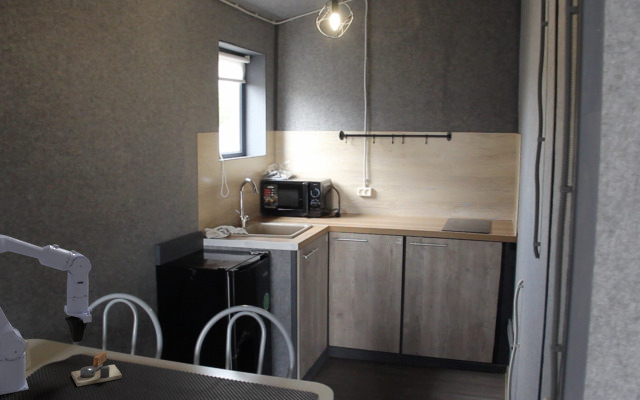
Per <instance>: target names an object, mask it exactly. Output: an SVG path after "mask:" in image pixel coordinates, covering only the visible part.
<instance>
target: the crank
mask: <svg viewBox="0 0 640 400" xmlns="http://www.w3.org/2000/svg"><path fill="white" fill-rule="evenodd" d="M106 361H107V352H106V351H101V352H99V353H98V354H97V355H95V356H94V357H93V365H89V366H87V365H86V366H84V367H81V368H80V369H79V371H80V376H81V377H83V378H88V377H92V376H94V375H95V371H96V370H97V369H99V368H100V367H103V365H104V363H105V362H106Z"/></svg>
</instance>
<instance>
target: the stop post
mask: <svg viewBox="0 0 640 400" xmlns="http://www.w3.org/2000/svg"><path fill="white" fill-rule="evenodd" d="M100 377H101V378H108V377H109V365H104V366H101V368H100Z"/></svg>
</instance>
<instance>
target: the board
mask: <svg viewBox="0 0 640 400" xmlns="http://www.w3.org/2000/svg"><path fill="white" fill-rule="evenodd" d="M108 366H109V377H108V378H101V377H100V368H101V367H102V366H101V367H100V368H99V369H97V370H96V371H95V375H94V376H92V377H88V378H83V377H81V376H80V370H75V371H71V372H70V373H71V374H70V375H71V377H72V379H73V381H74V383H75V384H76V386H77V387H82V386H87V385H92V384H97V383H104V382H109V381H113V380H119V379H123V375H122V373H121V372H120V370H119V368H118V367H117V366H116V365H115V364H109V365H108Z"/></svg>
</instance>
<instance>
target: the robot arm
mask: <svg viewBox="0 0 640 400" xmlns="http://www.w3.org/2000/svg"><path fill="white" fill-rule="evenodd" d="M6 252H11V253H16V254H19V255H23V256H27V257H32V258H33V259H34V258H35V259H37V260H38V261H39V264H40V265H42V266H45V267H49V268H51V269H56V270H59V271H67V279H66V305H64V307H63V311H64V313H65V315H67V317H65V318H64V320H65V322H66V323H67V326H68V329H69V332H70V336H71V339H72V342H73V343H79V342H82V341H83V337H84V334H85V330H86V327H87V325H88V324H89V323H92V320H93V319H92V314H91V312H92V311H93V308H92V307H89V290H90V289H89V287H90V286H89V284H90V283H89V282H90V280H89V272H91V270H92V264H91V261H90V259H89V258H88V256H87V257H86V256H85V255H83V254H82V253H80V252H77V251H76V250H73V249H71V250H67V249H64V248H61V247H60V245H58V244H54V243H53V245H51V244H47V245H46V246H38V245H36V244H32V243H29V242H27V241H23V240H20V239H17V238H14V237H11V236H9V235H6V234H5V235H4V234H0V254H3V253H6ZM26 349H27V342H26V340H25V339H24V338H23V336H22V334H21V332H20V331H19V329H17V328H15V327H14V326H12V324H11V323H10V321H9V319H8V318H7V317H6V314H5V313H4V311H3V308H1V306H0V395H6V394H12V393H17V392H23V391H28V390H29V386H28V382H27V379H26Z"/></svg>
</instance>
